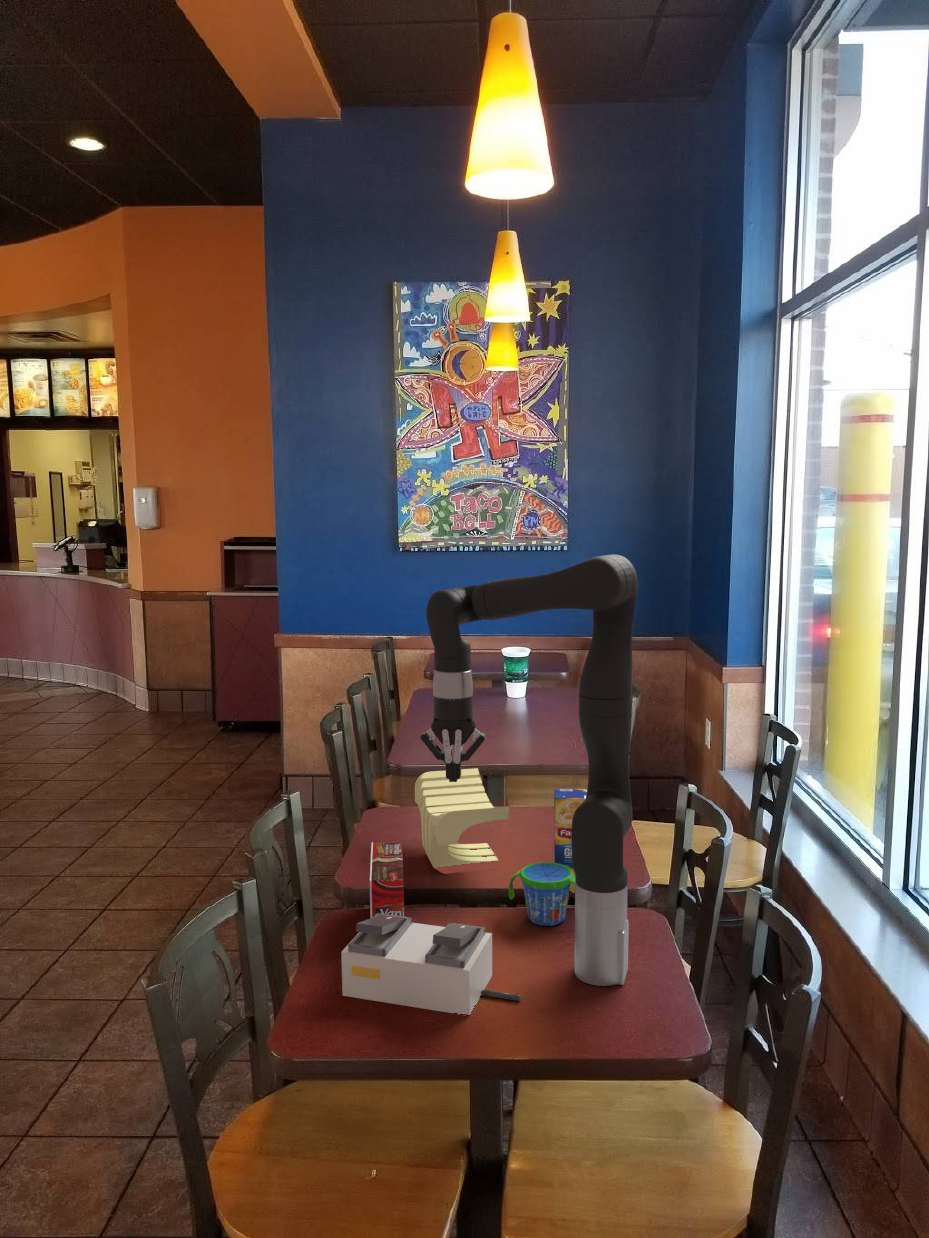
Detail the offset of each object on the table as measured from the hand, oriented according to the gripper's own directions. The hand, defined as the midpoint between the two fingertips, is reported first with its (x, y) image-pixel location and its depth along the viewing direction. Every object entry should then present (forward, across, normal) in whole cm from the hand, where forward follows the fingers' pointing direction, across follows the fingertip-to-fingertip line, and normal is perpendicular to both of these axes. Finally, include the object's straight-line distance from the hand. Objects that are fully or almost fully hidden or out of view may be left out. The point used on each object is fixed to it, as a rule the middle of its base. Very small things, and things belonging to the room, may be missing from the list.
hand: (453, 780), depth 185 cm
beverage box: (+31, +24, +22) cm, 45 cm away
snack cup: (+31, +18, +8) cm, 37 cm away
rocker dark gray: (+21, -10, -20) cm, 30 cm away
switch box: (+31, 0, -21) cm, 38 cm away
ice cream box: (+31, -14, +3) cm, 34 cm away
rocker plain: (+21, +3, -22) cm, 30 cm away
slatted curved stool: (+31, -4, +36) cm, 48 cm away
